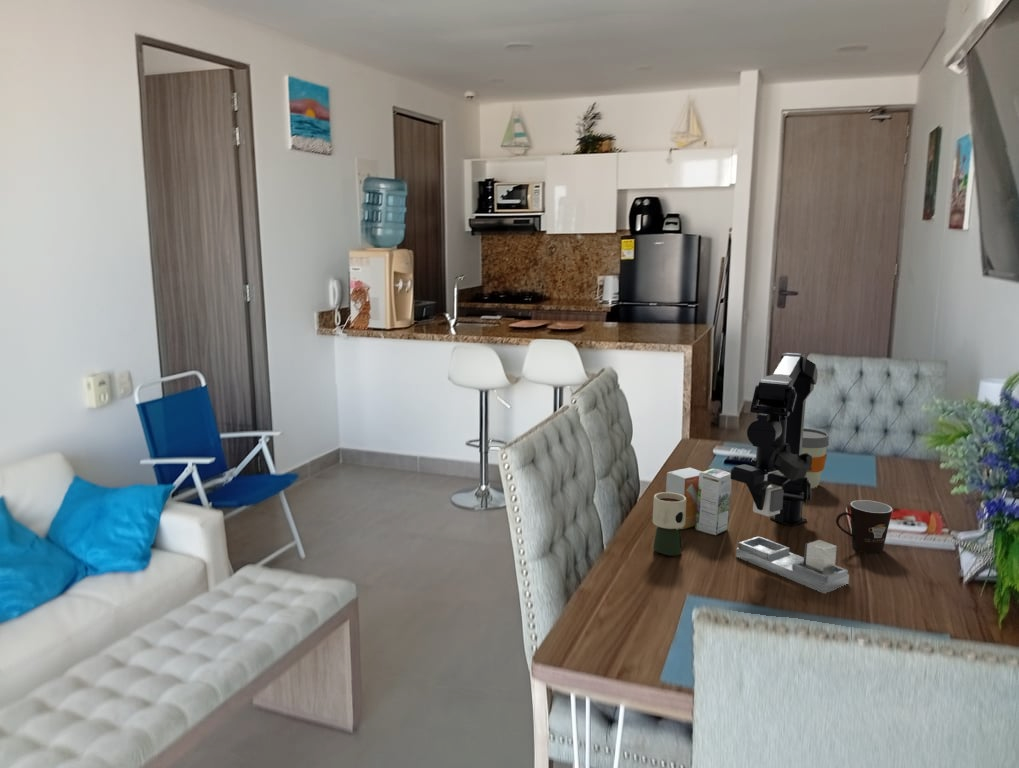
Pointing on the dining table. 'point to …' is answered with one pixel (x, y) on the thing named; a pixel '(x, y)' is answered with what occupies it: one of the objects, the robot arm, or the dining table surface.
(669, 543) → the character mug
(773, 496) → the light grey upright block
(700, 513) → the syrup box
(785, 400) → the robot arm
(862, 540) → the coffee mug
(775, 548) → the rail
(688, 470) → the small box
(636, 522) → the dining table surface
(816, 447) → the reusable coffee cup
